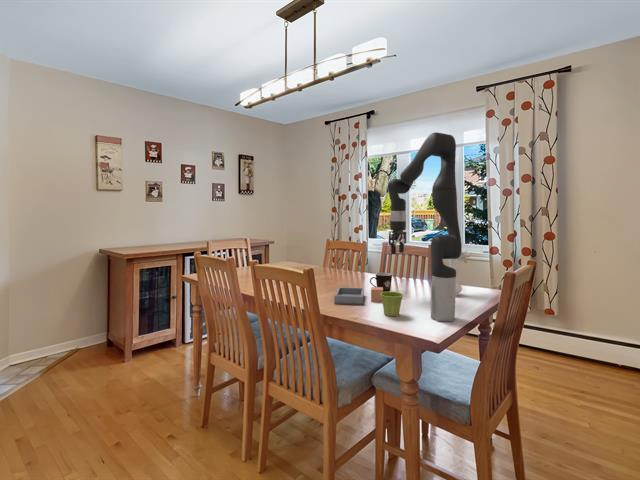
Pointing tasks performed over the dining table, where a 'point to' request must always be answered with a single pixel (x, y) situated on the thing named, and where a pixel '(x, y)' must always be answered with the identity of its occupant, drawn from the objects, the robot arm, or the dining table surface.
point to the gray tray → (349, 296)
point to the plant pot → (391, 303)
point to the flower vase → (453, 265)
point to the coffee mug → (383, 281)
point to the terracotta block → (376, 294)
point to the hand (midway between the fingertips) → (397, 253)
